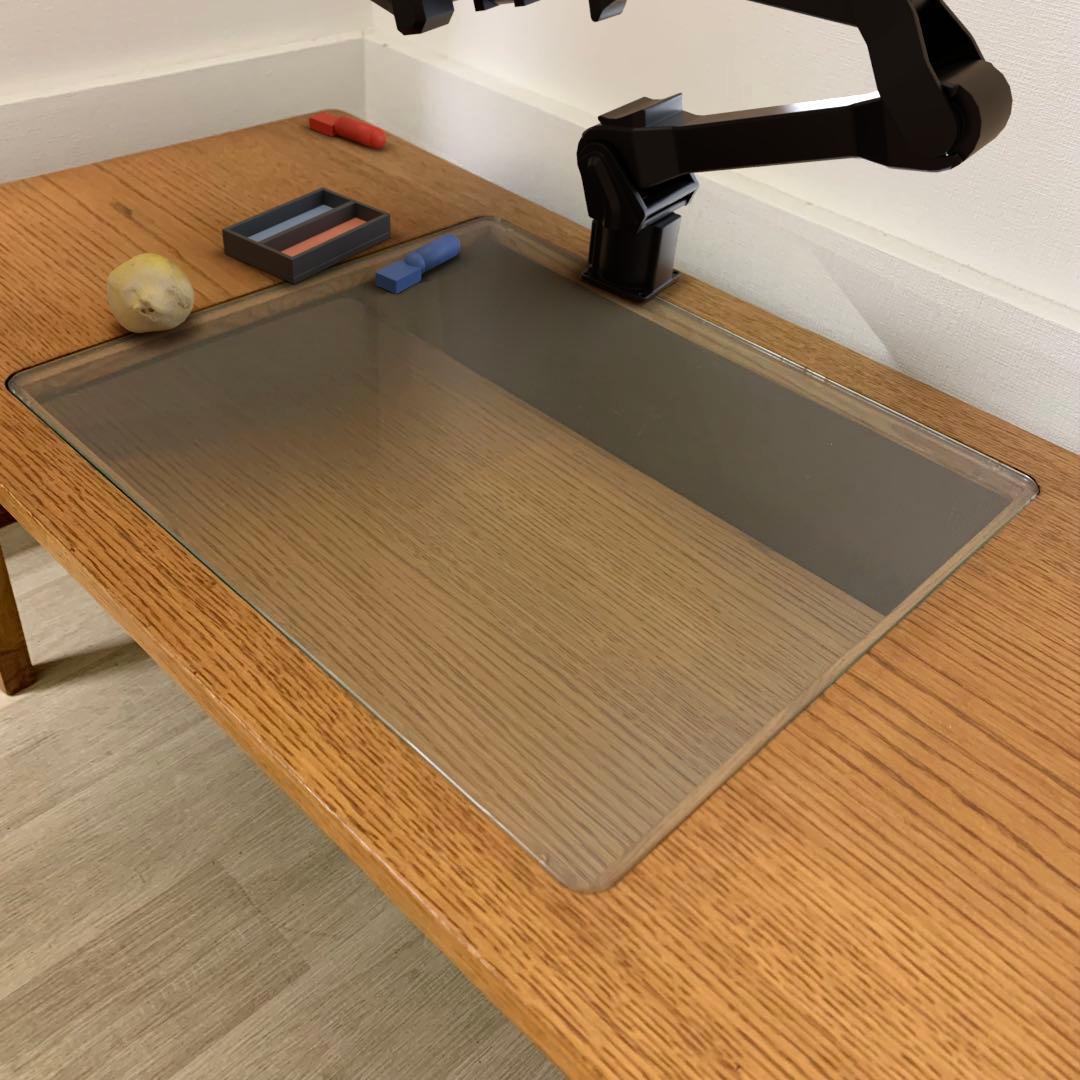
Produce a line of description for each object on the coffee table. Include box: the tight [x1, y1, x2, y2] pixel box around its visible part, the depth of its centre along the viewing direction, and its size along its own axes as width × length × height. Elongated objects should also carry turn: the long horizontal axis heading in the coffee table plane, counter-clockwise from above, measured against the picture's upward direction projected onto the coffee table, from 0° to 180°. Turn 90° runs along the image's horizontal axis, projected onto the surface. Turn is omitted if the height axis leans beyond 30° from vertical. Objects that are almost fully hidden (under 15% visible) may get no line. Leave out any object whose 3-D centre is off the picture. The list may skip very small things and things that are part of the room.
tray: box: [221, 187, 392, 285], centre depth 97 cm, size 8×12×2 cm, turn 145°
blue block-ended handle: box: [375, 233, 461, 295], centre depth 95 cm, size 9×2×2 cm, turn 145°
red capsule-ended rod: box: [308, 111, 387, 149], centre depth 116 cm, size 9×2×2 cm, turn 55°
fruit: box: [106, 252, 195, 334], centre depth 85 cm, size 6×6×10 cm
